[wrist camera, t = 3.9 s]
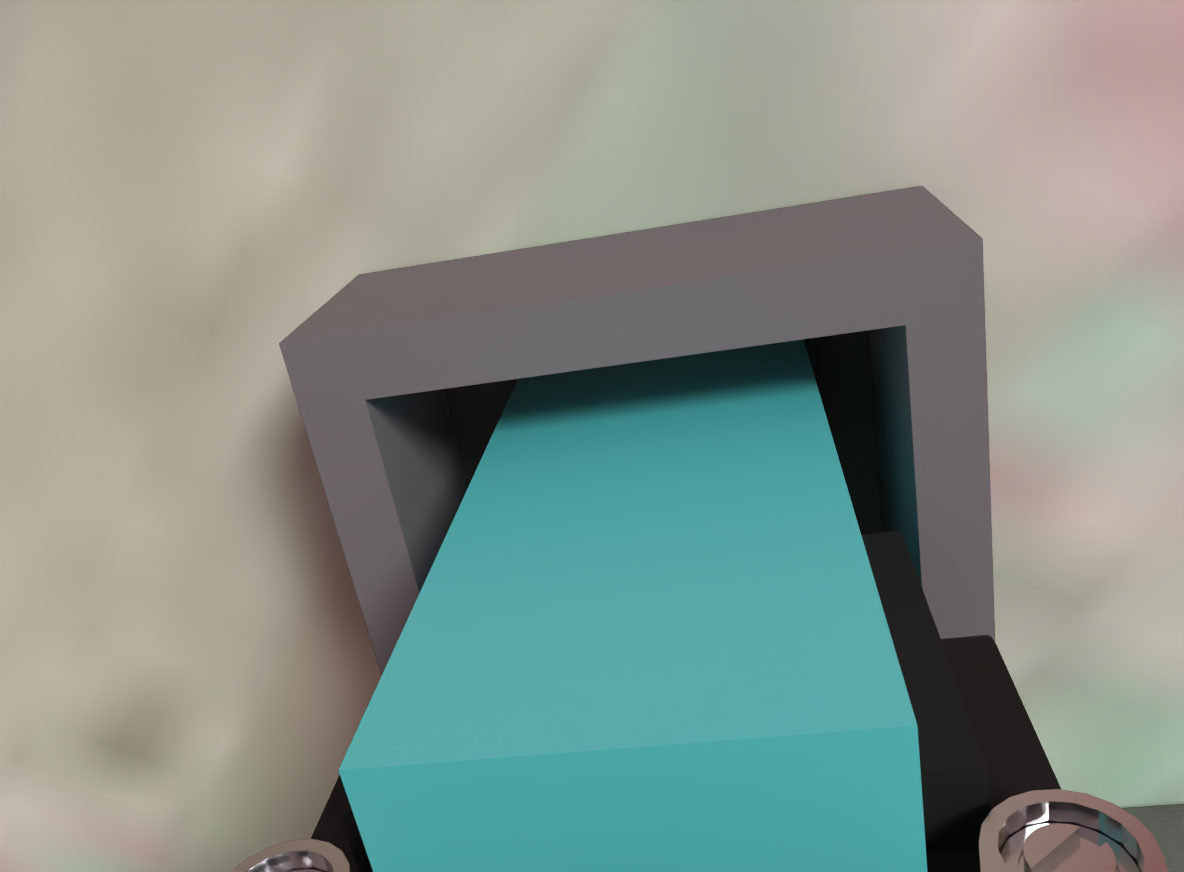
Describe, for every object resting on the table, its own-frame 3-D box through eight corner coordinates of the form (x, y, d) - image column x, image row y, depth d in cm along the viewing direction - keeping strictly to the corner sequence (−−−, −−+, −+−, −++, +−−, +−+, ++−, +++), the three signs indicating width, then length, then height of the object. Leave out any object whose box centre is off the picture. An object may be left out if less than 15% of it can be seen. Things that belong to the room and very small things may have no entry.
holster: (923, 185, 13) (982, 238, 10) (952, 750, 17) (1002, 901, 14) (358, 274, 14) (278, 343, 12) (496, 785, 18) (461, 931, 15)
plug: (803, 338, 14) (973, 916, 5) (837, 670, 16) (999, 1473, 7) (518, 377, 15) (256, 950, 6) (587, 692, 17) (466, 1457, 8)
